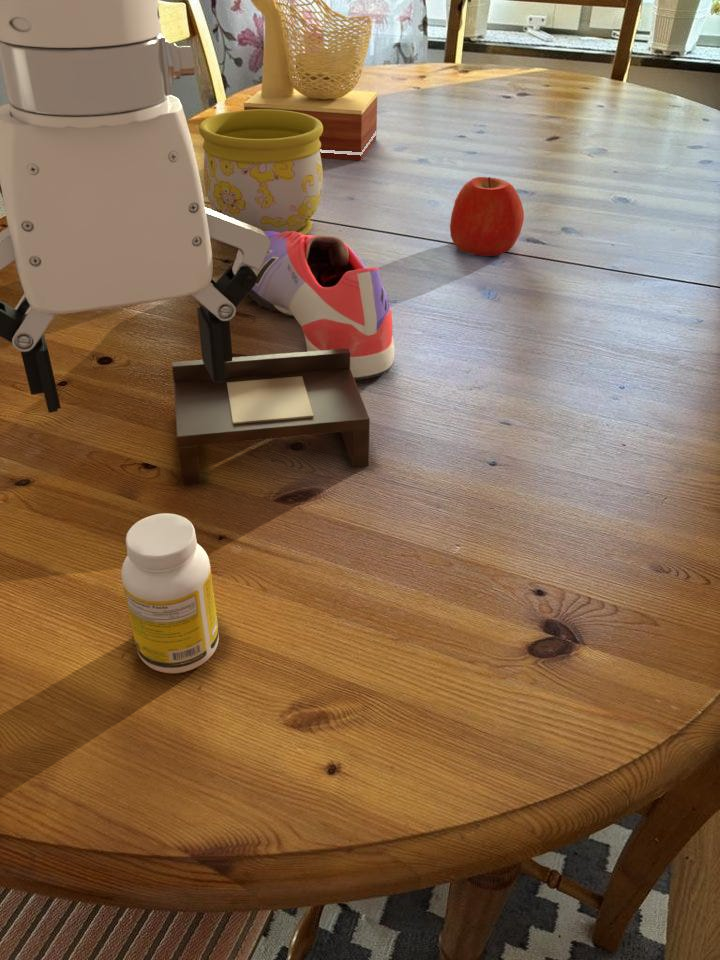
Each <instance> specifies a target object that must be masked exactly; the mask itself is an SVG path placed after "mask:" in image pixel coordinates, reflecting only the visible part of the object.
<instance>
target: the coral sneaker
mask: <svg viewBox="0 0 720 960" xmlns="http://www.w3.org/2000/svg"><path fill="white" fill-rule="evenodd" d="M264 233H265V234H266V235H267V236H268V238H269V239H270V241H271V246H270V249H269V251H268V253H267V255H266V258H265V260H264V262H263V265H262V267H261V269H260V270H259V271H258V274H257V276H256V277H257V281H256V284H255V285H254V287H253V288H252V289H251V290H250V291H249V293H248V294H247V295H248V296H249V297H250V299H251V300H252V301H254V302H255V303H257V304H258V306H259V309H263V308H266V309H268V310H269V311H270V312H271V313H275V312H277V313H280V314H284V316H286V317H289V318H290V317H291V316H293V317H294V318H295V320H296V321H297V323H298V324H299V325H300V328H301V329H302V331H303V334H304V335H303V336H304V339H305V344H306V352H308V351H321V350H334V349H347V348H348V349H349V351H350V370H351V372H352V375H353V377H354V380H355V381H357V380H365V379H366V380H367V379H371V378H375V377H378V376H381V375H384V374H387V373H388V372H389V371H390V370H391V368H392V367H393V366H394V363H395V353H396V351H395V343H394V338H393V313H392V310H391V305H390V301H389V298H388V295H387V292H386V290H385V288H384V286H383V283H382V279H381V274H380V270H379V268H378V267H375V266H374V267H367V265H366V263H364V262H363V260H362V259H361V258H360V256H359V254H357V253H356V251H354V250H353V248H351V247H350V246H349V245H348V244H347V243H346V242H344V241H343V240H342V239H341V238H339V237H338V236H335V235H314V234H313V235H312V234H311V235H309V234H306V235H304V234H301V233H298V232H295V231H290V232H288V231H287V232H283V233H279V232H274V231H265V232H264Z"/></svg>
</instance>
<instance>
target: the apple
mask: <svg viewBox="0 0 720 960" xmlns="http://www.w3.org/2000/svg"><path fill="white" fill-rule="evenodd" d="M450 216H451V217H450V222H449V230H450V231H449V233H450V238H451V240H452V243H453V244H454V246H455V247H456V248H457V249H458V250H459V251H461V252H464V253H466V254H471V255H475V256H481V257H494V256H499V255H502V254H504V253H506V252H509V251H510V250H511V249H512V248H513V247H514V246H515V244H516V243H517V241H518V239H519V237H520V235H521V232H522V228H523V224H524V220H525V210H524V207H523V204H522V200H521V198H520V196H519V193H518V191H517V190H516V189H515V187H514V185H513V184H512V183H510V182H509V181H507V180H503V179H502V178H496V177H490V176H489V177H488V176H477V177H473V178H471V179H470V180H469V181H468V182H466V183H465V184H463V186H462V188H461V189H459V192H458V194H457V196H456V198H455V200H454V203H453V208H452V211H451V215H450Z"/></svg>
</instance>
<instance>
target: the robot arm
mask: <svg viewBox="0 0 720 960" xmlns="http://www.w3.org/2000/svg"><path fill="white" fill-rule="evenodd" d="M159 6H160V5H159V0H0V66H1V70H2V75H3V80H4V84H5V89H6V94H7V99H8V103H5V104H3V105H0V190H1V194H2V200H3V205H4V212H5V217H6V218H5V219H6V225H7V227H6V228H4V229H2V230H1V231H0V271H1V270H3V269H4V268H6V267H7V266H9V265H11V264H12V263H13V262H14V263H15V266H16V270H17V274H18V278H19V281H20V284H21V288H22V289H23V295H22V296H21V298H20V299H19V301H18V303H17V304H16V305H15V307H12V306H11V305H9V304H7V303H6V302H4V301H2V300H1V299H0V337H1V338H3V339H4V340H6V341H8V342H9V343H11V344H12V346H13V347H14V349H15V350H17V351H19V352H20V354H21V359H22V363H23V366H24V372H25V375H26V379H27V384H28V388H29V392H30V395H32V396H33V395H39V394H44V399H45V403H46V407H47V412H48V414H51V413H56V412H58V410H59V409H62V407H61V403H60V398H59V394H58V389H57V385H56V384H57V383H56V379H55V375H54V371H53V366H52V362H51V358H50V353H49V348H48V344H47V340H46V335H45V332H46V330H47V329H48V327H49V326H50V324H51V323H52V321H53V320H54V318H55V316H56V315H67V314H77V313H85V312H91V311H99V310H104V309H105V310H106V309H113V308H120V307H127V306H133V305H134V306H135V305H141V304H148V303H154V302H160V301H161V302H162V301H168V300H174V299H179V298H180V299H181V298H184V297H185V298H186V297H189V296H192V298H194V299H195V300H196V301H197V302H198V303H199V307H197V308H196V309H197V310H196V311H197V320H198V330H199V339H200V349H201V360H203V363H204V365H205V367H206V369H207V371H208V373H209V375H210V377H211V379H212V380H213V382H215V381H216V383H222V382H225V381H226V377H225V366H224V362H230V361H232V357H233V348H232V346H233V345H232V336H231V323H230V321H231V320H232V319H234V317H235V316H236V313H237V307H238V306H239V305H240V304H241V302H242V301H243V300H244V299H245V298H246V296H247V295H249V294H248V293H249V291H250V290H251V289H252V288H253V287H254V285H255V284H256V281H257V277H256V276H257V274H258V271H259V270H260V269H261V267H262V265H263V262H264V260H265V258H266V255H267V253H268V251H269V249H270V246H271V241H270V239H269V238H268V236H267V235H266V234H265V233H264V232H263V231H262V230H261V229H259V228H256V227H254V226H251V225H249V224H246V223H243V222H241V221H238V220H236V219H233V218H231V217H228V216H226V215H223V214H221V213H218V212H215V211H214V210H213V209H211V208H207V207H206V205H205V198H204V193H203V187H202V183H201V178H200V177H201V176H200V171H199V166H198V162H197V157H196V153H195V149H194V143H193V140H192V135H191V132H190V129H189V125H188V122H187V118H186V115H185V111H184V109H183V105H182V103H181V101H180V99H179V98H178V97H176V96H174V95H172V90H171V86H174V80H181V77H185V76H194V75H195V73H196V64H195V55H194V52H193V47H192V46H191V45H179V46H177V44H176V43H170V42H169V41H168V40H167V39H166V37H165V36H163V35H162V34H161V33H162V27H161V26H162V24H161V18H160V17H161V16H160V11H159ZM211 239H212V240H215V241H218V242H220V243H224V244H226V245H228V246H232V247H234V248H237V249H238V250H237V253H236V255H235V256H236V258H235V260H234V261H233V262H232V263H231V264H230V265H229V266H228V268H227V269H226V270H225V271H224V272H223V273H222V275H221V276H220V277H219V278H218V279H217V281H216V280H215V279H214V278H213V273H214V272H213V271H214V269H213V268H214V267H213V266H214V264H213V263H214V262H213V252H212V250H213V249H212V244H211Z"/></svg>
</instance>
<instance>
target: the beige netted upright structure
mask: <svg viewBox="0 0 720 960" xmlns="http://www.w3.org/2000/svg"><path fill="white" fill-rule="evenodd" d="M250 1H251V3H252V5H253V6H254V7H255V8H256V9H257V11H259V12H260V13H261V14H262V15H263V17H264V42H263V43H264V45H263V60H262V61H263V62H262V76H261V77H262V79H261V89H260V90H258V91H257V92H256V93H254V94H253V95H252V96H250V97H249V98H248V99H246V100H245V101H243V110H255V109H270V110H285V111H292V112H298V113H303V114H307V115H310V116H312V117H315V118H316V119H318V120H319V121H320V122H321V123H322V125H323V132H322V134H321V136H320V137H319V141H320V142H321V148H320V149H322V150H335V151H352V152H362V150H363V149H364V147H365V146H366V144H367V143H368V142H369V140H370V139H371V137H372V136H373V134H374V133H375V131H376V132H377V130H378V129H377V128H378V126H377V124H378V122H377V121H378V119H377V118H378V91H365V90H354V89H355V87H356V86H357V84H359V81H360V79H361V77H362V72H363V69H364V66H365V61H366V57H367V53H368V50H369V46H370V43H371V35H372V26H373V21H372V18H371V17H370V16H369V15H363V16H352V17H347V16H346V15H343V14H341V13H339V12H337V11H335V10H333V9H332V8H331V7H330V6H329V5H328V4H327V3H326V2H325V1H324V0H312V1H311V2H310V1H309V0H305V2H307V3H305V2H304V1H303V0H298V1H299V2H300V3H298V2H297V1H296V0H250ZM291 1H292V2H294V3H295V4H293V3H292V2H291ZM314 3H315V4H316V6H317V7H318V9H319V10H320V11H318V10H317V9H316V8H315V7H314V5H313V4H314ZM298 7H300V8H301V9H302V10H301V9H299V8H298ZM310 7H312V9H313V10H312V9H311V8H310ZM306 8H307V9H306ZM305 13H307V14H308V15H309V16H310V17H309V16H308V15H306V14H305ZM316 14H317V15H316ZM303 16H304V17H303ZM313 16H314V17H313ZM318 16H319V18H320V19H319V18H318ZM323 16H324V17H323ZM332 17H333V18H334V19H333V18H332ZM339 18H340V19H339ZM307 20H308V21H309V22H308V21H307ZM312 21H314V23H313V22H312ZM351 21H352V22H351ZM360 21H363V22H360ZM323 22H324V23H325V24H326V25H327V26H326V25H325V24H324V23H323ZM338 22H339V23H338ZM345 22H346V23H349V24H346V23H345ZM299 23H300V24H301V25H302V26H301V25H300V24H299ZM319 23H320V24H321V25H320V24H319ZM340 23H341V24H340ZM354 23H357V24H354ZM320 33H321V34H320ZM360 35H361V36H360ZM324 37H325V38H324ZM320 38H321V39H320ZM293 47H294V48H293ZM376 140H377V135H376V136H375V137H374V138H373V140H372V141H371V142H370V144H369V145H368V147H367V148H366V149H365V151H364V152H363V154H362V155H361V156H360V155H347V154H334V153H321V152H320V156H321V159H322V158H323V159H332V160H333V159H334V160H346V161H348V160H349V161H360V162H361V161H362V160H363V159H364V157H365V156H366V154H367V153H368V152H369V150H370V149H371V147H372V146H373V145H374V143H375V142H376ZM374 141H375V142H374Z"/></svg>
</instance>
